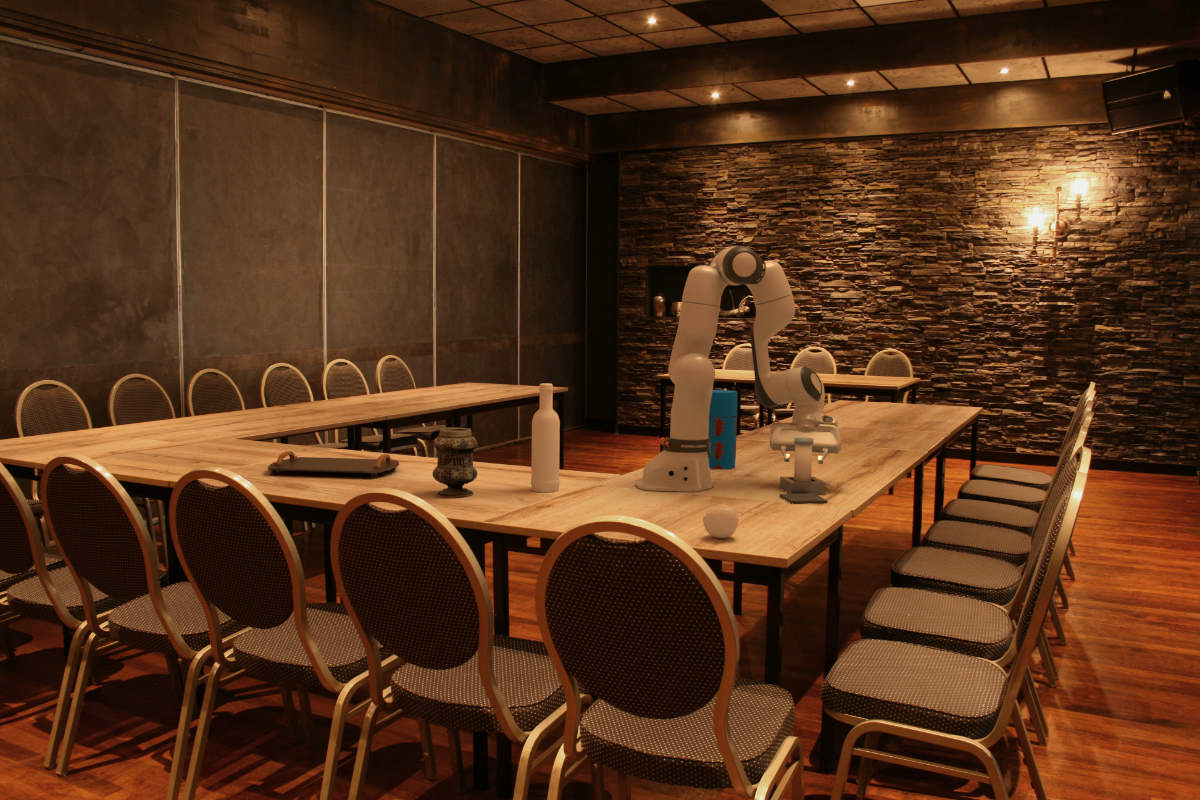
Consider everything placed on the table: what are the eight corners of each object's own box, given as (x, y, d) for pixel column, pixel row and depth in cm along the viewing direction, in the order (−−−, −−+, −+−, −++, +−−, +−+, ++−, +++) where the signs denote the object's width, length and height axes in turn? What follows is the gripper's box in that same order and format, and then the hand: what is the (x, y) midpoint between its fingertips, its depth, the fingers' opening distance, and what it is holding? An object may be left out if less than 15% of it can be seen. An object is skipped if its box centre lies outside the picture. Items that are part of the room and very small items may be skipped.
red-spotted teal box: (734, 470, 313) (736, 393, 310) (700, 469, 315) (702, 392, 313) (736, 465, 323) (738, 390, 321) (704, 463, 325) (706, 389, 323)
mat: (791, 503, 259) (791, 500, 259) (779, 496, 269) (779, 493, 269) (827, 503, 261) (827, 500, 261) (814, 496, 271) (814, 493, 271)
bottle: (555, 493, 269) (556, 385, 266) (527, 491, 270) (528, 384, 268) (562, 488, 277) (563, 383, 274) (535, 486, 278) (536, 382, 276)
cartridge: (796, 493, 274) (797, 440, 273) (790, 490, 280) (791, 437, 278) (814, 493, 275) (816, 440, 274) (808, 489, 280) (809, 437, 279)
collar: (791, 495, 272) (791, 482, 271) (779, 488, 282) (780, 476, 281) (825, 494, 273) (825, 482, 273) (813, 488, 283) (813, 476, 283)
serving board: (257, 477, 289) (257, 457, 289) (289, 465, 312) (289, 446, 312) (384, 481, 286) (384, 460, 285) (407, 469, 308) (407, 449, 308)
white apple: (727, 533, 224) (728, 499, 223) (744, 540, 217) (746, 506, 216) (696, 535, 221) (697, 502, 220) (713, 543, 214) (714, 508, 213)
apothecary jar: (484, 491, 269) (484, 427, 268) (466, 499, 258) (466, 432, 256) (444, 489, 273) (444, 425, 271) (425, 496, 261) (424, 430, 260)
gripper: (770, 415, 285) (765, 453, 277) (842, 418, 280) (839, 457, 271) (772, 428, 290) (767, 466, 282) (842, 432, 284) (839, 470, 276)
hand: (803, 461), depth 276 cm, fingers open, 8 cm apart
